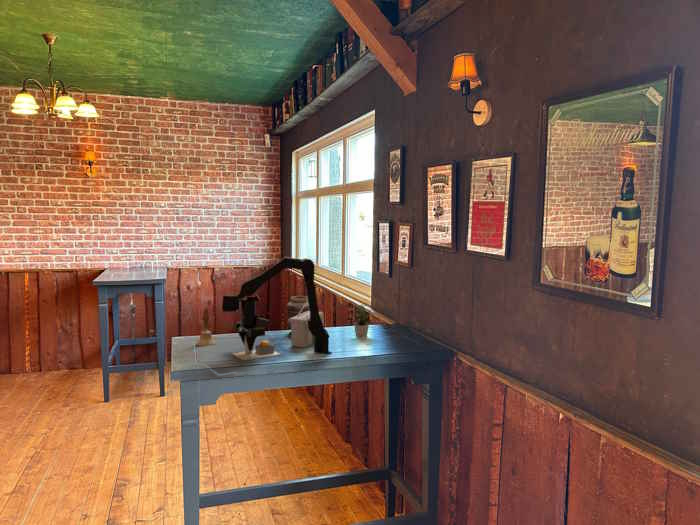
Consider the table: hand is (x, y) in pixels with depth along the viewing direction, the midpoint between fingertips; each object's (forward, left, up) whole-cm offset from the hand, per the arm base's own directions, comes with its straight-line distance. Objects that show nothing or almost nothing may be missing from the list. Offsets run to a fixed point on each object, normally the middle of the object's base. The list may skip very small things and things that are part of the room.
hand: (248, 349), depth 213 cm
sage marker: (0, 0, -1) cm, 1 cm away
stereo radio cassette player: (+4, -29, -2) cm, 30 cm away
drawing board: (-3, -2, -2) cm, 4 cm away
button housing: (-2, -6, -1) cm, 7 cm away
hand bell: (+27, +9, -2) cm, 28 cm away
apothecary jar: (+23, -36, -2) cm, 43 cm away
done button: (-2, -6, +1) cm, 7 cm away
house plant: (+3, -57, -2) cm, 58 cm away
